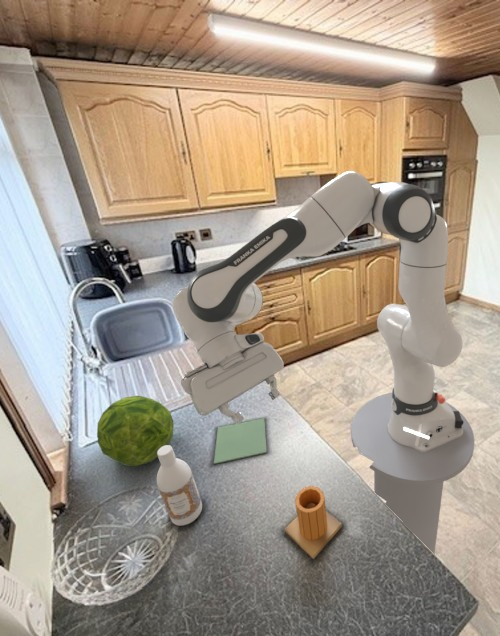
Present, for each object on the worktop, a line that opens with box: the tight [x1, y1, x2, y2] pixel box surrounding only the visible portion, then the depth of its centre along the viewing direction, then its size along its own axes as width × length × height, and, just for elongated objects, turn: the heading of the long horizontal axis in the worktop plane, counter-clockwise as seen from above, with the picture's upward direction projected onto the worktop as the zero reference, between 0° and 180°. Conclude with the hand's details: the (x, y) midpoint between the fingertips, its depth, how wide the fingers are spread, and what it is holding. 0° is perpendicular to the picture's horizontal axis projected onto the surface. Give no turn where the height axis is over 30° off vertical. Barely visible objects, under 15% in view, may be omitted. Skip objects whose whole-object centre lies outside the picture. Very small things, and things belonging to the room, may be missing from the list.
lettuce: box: [96, 395, 174, 467], centre depth 96 cm, size 17×23×17 cm
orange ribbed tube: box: [294, 485, 327, 540], centre depth 74 cm, size 6×6×9 cm
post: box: [283, 503, 343, 560], centre depth 75 cm, size 9×9×7 cm
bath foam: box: [156, 444, 203, 527], centre depth 77 cm, size 7×7×20 cm
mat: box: [213, 418, 268, 465], centre depth 101 cm, size 14×14×1 cm
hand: (259, 409), depth 72 cm, fingers open, 8 cm apart
